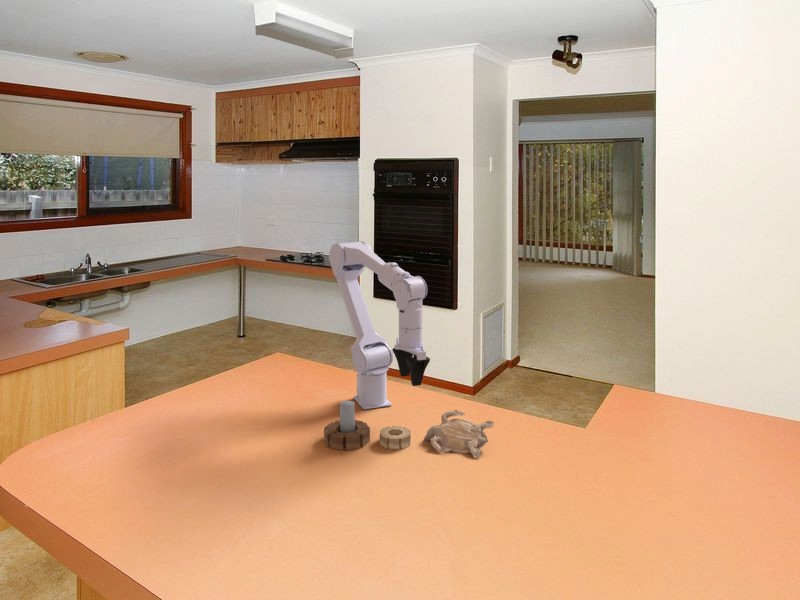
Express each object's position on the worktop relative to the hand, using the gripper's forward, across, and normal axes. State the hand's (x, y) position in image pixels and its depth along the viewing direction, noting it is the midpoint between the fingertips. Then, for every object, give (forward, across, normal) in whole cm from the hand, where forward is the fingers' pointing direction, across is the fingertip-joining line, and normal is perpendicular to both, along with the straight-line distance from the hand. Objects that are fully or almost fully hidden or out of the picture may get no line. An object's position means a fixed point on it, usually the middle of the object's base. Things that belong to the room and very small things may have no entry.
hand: (410, 380), depth 148 cm
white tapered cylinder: (+10, +6, -18) cm, 22 cm away
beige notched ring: (+10, +11, -8) cm, 17 cm away
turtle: (+11, +18, +5) cm, 21 cm away
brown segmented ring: (+10, +6, -18) cm, 22 cm away
